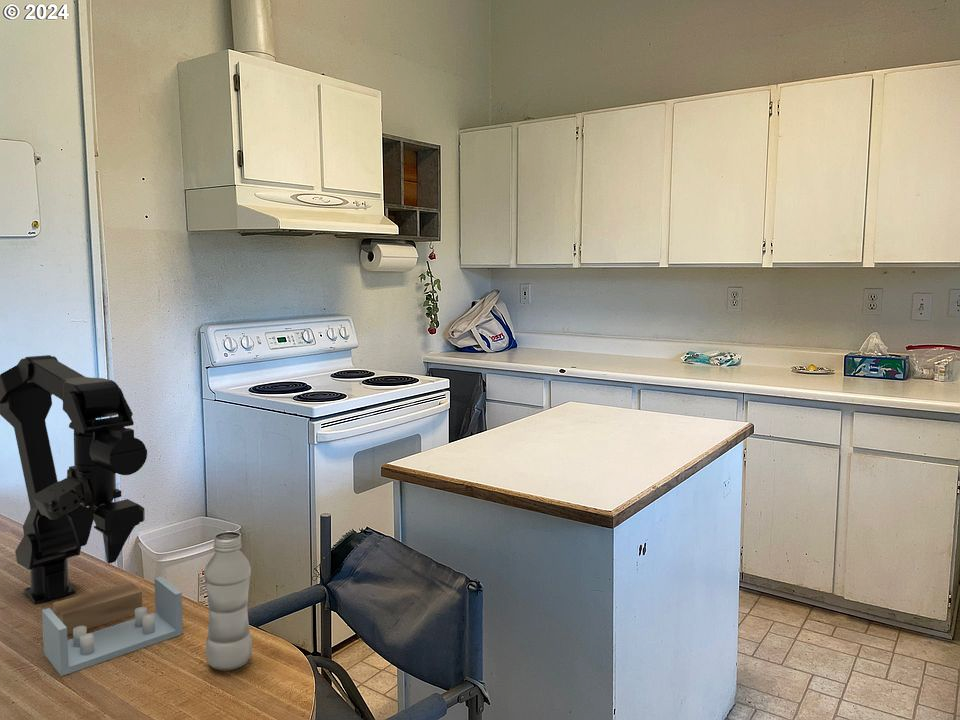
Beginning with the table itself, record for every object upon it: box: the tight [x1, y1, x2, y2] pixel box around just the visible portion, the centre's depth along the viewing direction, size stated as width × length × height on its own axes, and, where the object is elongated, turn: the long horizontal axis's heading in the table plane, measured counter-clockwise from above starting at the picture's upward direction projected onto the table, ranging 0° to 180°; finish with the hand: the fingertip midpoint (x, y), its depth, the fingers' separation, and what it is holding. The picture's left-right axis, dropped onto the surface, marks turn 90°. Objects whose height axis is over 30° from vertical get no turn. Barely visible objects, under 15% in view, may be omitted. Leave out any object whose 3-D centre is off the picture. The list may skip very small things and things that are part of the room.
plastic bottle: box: [203, 530, 253, 672], centre depth 106 cm, size 6×7×20 cm
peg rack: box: [41, 575, 184, 677], centre depth 111 cm, size 8×18×7 cm, turn 136°
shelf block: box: [52, 581, 143, 636], centre depth 119 cm, size 5×12×4 cm, turn 135°
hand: (96, 553), depth 116 cm, fingers open, 9 cm apart
